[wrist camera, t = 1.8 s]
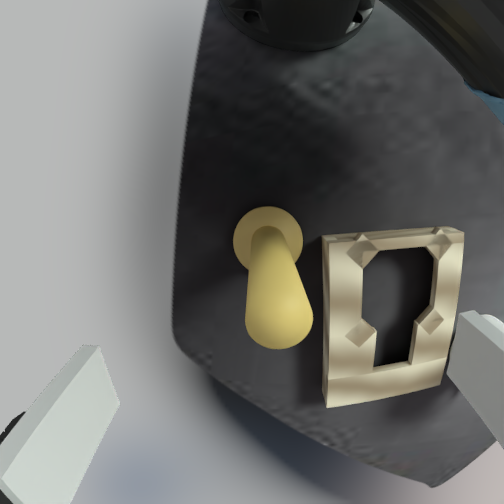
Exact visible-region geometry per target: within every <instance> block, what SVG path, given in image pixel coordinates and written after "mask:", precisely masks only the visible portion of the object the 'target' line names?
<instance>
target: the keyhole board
mask: <svg viewBox="0 0 504 504" xmlns="http://www.w3.org/2000/svg"><path fill="white" fill-rule="evenodd" d="M463 245H464V232H462V231H459V230H456V229H454V228H451V227H448V226H444V227H436V226H435V227H430V228H415V229H401V230H387V231H373V232H359V233H347V234H334V235H322V261H323V377H322V392H323V396H324V399H325V403H326V407H327V408H330V407H337V406H343V405H350V404H356V403H362V402H367V401H373V400H378V399H383V398H388V397H392V396H397V395H401V394H406V393H410V392H414V391H418V390H422V389H426V388H430V387H434V386H437V385H440V383H441V379H442V375H443V371H444V367H445V363H446V359H447V355H448V350H449V346H450V341H451V336H452V331H453V325H454V320H455V314H456V308H457V301H458V294H459V286H460V278H461V269H462V258H463ZM423 246H424V247H425V248H426V249H427V250H428V252H429V253H430V254H431V255H432V256H433V258H434V265H433V277H432V288H431V297H430V304H429V306H428V307H427V308H426V309H425V310H424V311H423V312H422V313H421V314H420V316H419V317H418V318H417V319H416V320H414V325H413V332H412V339H411V346H410V352H409V358H408V361H404V362H399V363H394V364H388V365H383V366H377V367H373V363H374V354H375V344H376V334H377V331H376V330H375V328H374V327H371V326H370V325H369V324H368V323H367V322H366V321H365V320H363V319H362V318H361V309H362V279H363V268H364V267H365V266H366V265H367V264H368V263H369V262H370V260H371V259H372V258H373V257H374V256H375V255H376V254H377V253H378V251H379V250H390V249H401V248H412V247H423Z"/></svg>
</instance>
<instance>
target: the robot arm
mask: <svg viewBox="0 0 504 504" xmlns="http://www.w3.org/2000/svg"><path fill="white" fill-rule="evenodd" d="M379 1H381V2H382V3H383V4H385V5H386V6H387V7H389V8H390V9H391V10H393V11H394V12H395V13H396V14H398V15H399V16H400V17H401V18H403V19H404V20H405V21H406V22H407V23H409V24H410V25H411V26H412V27H413V28H414V29H415V30H417V31H418V32H419V33H420V34H421V35H422V36H423V37H424V38H425V39H426V40H427V41H428V42H430V43H431V44H432V45H433V46H434V47H435V48H436V49H437V50H438V51H439V52H440V53H441V54H442V55H443V56H444V57H445V59H446V60H447V61H448V62H449V63H450V64H451V65H452V66H453V67H454V68H455V69H456V70H457V71H458V73H459V74H460V75H461V76H462V77H463V79H464V84H465V85H466V86H467V87H468V89H469V90H470V91H471V92H473V93H474V94H475V95H477V96H479V97H480V98H481V99H482V100H483V101H484V102H485V104H486V105H487V106H488V107H489V108H490V109H491V111H492V112H493V113H494V114H495V115H496V117H497V118H498V119H499V120H500V122H501V123H502V124H503V125H504V0H379ZM219 3H220V6H221V8H222V10H223V12H224V14H225V15H226V17H227V18H228V19H229V20H230V22H231V23H232V24H233V25H234V26H235V27H236V28H238V29H239V30H240V31H241V32H243V33H244V34H246V35H247V36H249V37H251V38H252V39H254V40H256V41H258V42H261V43H263V44H266V45H269V46H272V47H275V48H279V49H284V50H291V51H318V50H324V49H328V48H332V47H335V46H338V45H340V44H342V43H344V42H346V41H348V40H349V39H351V38H352V37H353V36H354V35H356V34H357V33H358V32H359V30H360V29H361V28H362V27H363V25H364V24H365V23H366V22H367V20H368V19H369V17H370V15H371V13H372V10H373V7H374V3H375V0H219ZM446 374H447V375H448V376H449V378H450V379H451V380H452V381H453V383H454V384H455V385H456V386H457V388H458V389H459V390H460V391H461V393H462V394H463V395H464V397H465V398H466V399H467V400H468V402H469V403H470V404H471V406H472V407H473V408H474V410H475V411H476V412H477V414H478V415H479V416H480V418H481V419H482V420H483V422H484V423H485V424H486V426H487V427H488V428H489V430H490V431H491V432H492V434H493V435H494V436H495V438H496V439H497V441H498V442H499V443H500V445H501V446H502V448H503V449H504V333H503V332H501V331H500V330H499V329H498V328H496V327H495V326H494V325H493V324H491V323H490V322H489V321H487V320H486V319H485V318H484V317H482V316H481V315H480V314H478V313H477V312H476V311H474V310H472V311H468V312H463V313H459V317H458V323H457V328H456V333H455V338H454V343H453V348H452V352H451V357H450V361H449V365H448V369H447V373H446ZM119 405H120V401H119V399H118V396H117V394H116V391H115V388H114V386H113V383H112V380H111V378H110V375H109V372H108V369H107V367H106V364H105V361H104V358H103V355H102V352H101V349H100V346H91V345H90V346H89V345H82V347H81V348H80V349H79V350H78V351H77V352H76V353H75V354H74V356H73V357H72V358H71V359H70V360H69V361H68V363H67V364H66V365H65V366H64V367H63V368H62V370H61V371H60V372H59V373H58V374H57V375H56V376H55V378H54V379H53V380H52V381H51V382H50V384H49V385H48V386H47V387H46V388H45V389H44V391H43V392H42V393H41V394H40V395H39V397H38V398H37V399H36V400H35V402H34V403H33V404H32V406H31V407H30V408H29V409H28V411H26V412H23V413H21V414H20V415H18V416H17V417H16V418H14V419H13V420H12V421H11V422H10V424H9V425H8V426H7V427H6V429H5V432H2V434H1V435H0V504H71V501H72V499H73V497H74V495H75V493H76V491H77V489H78V487H79V485H80V483H81V481H82V478H83V476H84V474H85V472H86V470H87V468H88V466H89V464H90V462H91V460H92V458H93V456H94V454H95V452H96V450H97V448H98V446H99V444H100V442H101V440H102V438H103V436H104V434H105V432H106V430H107V429H108V427H109V425H110V423H111V421H112V419H113V417H114V415H115V413H116V411H117V409H118V407H119Z"/></svg>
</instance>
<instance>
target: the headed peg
mask: <svg viewBox="0 0 504 504" xmlns="http://www.w3.org/2000/svg"><path fill="white" fill-rule="evenodd" d="M233 246H234V251H235V254H236V256H237V258H238V259H239V261H240V262H241V263H242V265H243V266H244V267H246V268H247V269H248V270H249V277H248V289H247V302H246V315H245V324H246V328H247V331H248V333H249V335H250V336H251V337H252V339H253V340H254V341H256V342H257V343H258V344H260V345H262V346H264V347H267V348H271V349H285V348H289V347H292V346H294V345H296V344H298V343H299V342H301V341H302V340H303V339H304V338H305V337H306V336H307V334H308V333H309V331H310V329H311V327H312V323H313V313H312V309H311V306H310V303H309V301H308V298H307V295H306V293H305V290H304V287H303V285H302V282H301V279H300V277H299V274H298V271H297V269H296V266H295V262H296V261H297V259H298V258H299V256H300V253H301V251H302V246H303V236H302V232H301V229H300V226H299V225H298V223H297V222H296V220H295V219H294V218H293V217H292V216H291V215H290V214H289V213H288V212H287V211H285V210H283V209H281V208H278V207H274V206H262V207H258V208H255V209H253V210H251V211H249V212H248V213H247V214H245V215H244V216H243V217H242V218H241V220H240V221H239V223H238V225H237V227H236V229H235V232H234V237H233Z"/></svg>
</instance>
